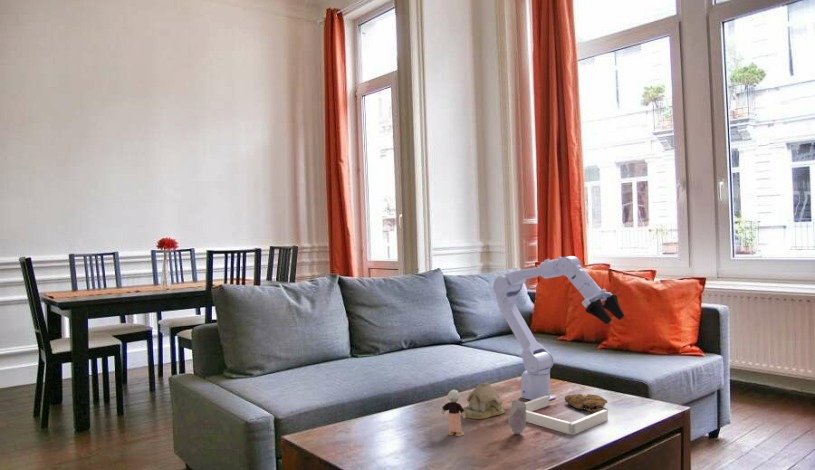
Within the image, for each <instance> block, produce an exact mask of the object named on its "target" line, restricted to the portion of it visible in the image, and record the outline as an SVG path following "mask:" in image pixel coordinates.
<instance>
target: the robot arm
mask: <svg viewBox="0 0 815 470" xmlns="http://www.w3.org/2000/svg"><path fill="white" fill-rule="evenodd" d="M561 276H562V277H563V276H565V277H567V279H568V281H570V283H571V284H572V285H573V286H574V288H575V289H577V291H578V292H579V293H580V295H581V296H582V297H583V298H584V300H583V301H581V304H582V306H584V308H585V313H587V314H589V315H591V316H594V317H596V318H597V319H599V320H600V322H602V323H604V324H605V325H609V324H610V322H612V318H611V316H610V315H609V313H608V312H607V311H609V312H610V313H611V314H612V315H613V316H614V317H615V318H616V319H618V320H619V321H621V320H622V319H623V318H624V317H625V314H624V312H623V310H622V308H621V306H620V302H619V300H618V296H617V294H615V293H611V291H609V292H608V291H607V289H606V288H603V289H602V288H601V287H600V286H599V285H598V284H597V283H596V281H595V280H594V279H593V277H591V276H590V274H589V273H588V272H587V271H586V270H585V268H583V266H582V261H581V260H580V259H579V258H578V257H577V256H574V255H569V256H558V257H557V258H555V259H550V258H547V259H544V261H542V262H541V263H540V264H539V265H538V266H537V267H530V268H526V269H519V270H514V271H511V272H508V273H505V274H503V276H502V275H499V276H497V277H496V278H494V282H493V285H492V290H493V292H494V294H495V296H496V302H497V306H498V308H499V310H500V312H501V314H502V315H503V317H504V319H505V320H506V322H507V324H508V326H509V328H510V330H511V332H512V334H513V335H514V336H515V339H517V342H518V343H519V345H520V347H521V349H522V351H521V355H520V358H521V359H522V362H523V367H524V369H525V370H524V371H523V372H522V374H521V377H520V393H521V394H520V395H519V397H520V398H522V399H526V400H529V401H531V400H534V399H537V398H540V397H543V396H549V401H551V400H553V399H556V398H557V397H556V396H555V395H551V373H550V372H551V368H552V367H553V365H554V361H555V360H554V356H553V355H552V353H551V352H549V351H548V350H547V349H546V347H545V346H544V345H543V344H542V343H539V342H538V341H537V340H536V338H535V336H534V334H533V333H532V330H531V329H530V328H529V326H528V324H527V322H526V320H525V319H524V317H523V316H522V313H521V312H520V310H519V308H518V307H517V305H516V300H517V297H518V295H519V294H520V292H521V290H522V288H523V285H524V284H525V283H526V281H527V280H528V279H532V278H537V277H541V278H543V279H551V278H557V277H561ZM602 302H604V303H602Z"/></svg>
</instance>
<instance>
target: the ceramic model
mask: <svg viewBox="0 0 815 470" xmlns="http://www.w3.org/2000/svg"><path fill="white" fill-rule="evenodd" d="M466 402H468V405H467V406H464V407H462V408H463V409H464V412H465V415H466V418H469V419H473V420H474V419H475V420H478V419H479V420H480V419H488V418H490V417H494V416H499V415H502V414H504V413H506V412H505V409H504V407H502V404H503V401H502V400H501V399H500V395H499V393H498V391H497V390H496V389H495V388H493V386H492V385H491V384H490V383H489V382H486V381H481V382H480V384H479V385H477V386H476V387H475V388H474V389H473V390H472V391H471V392H470V393H469V395H468V396H467V398H466Z"/></svg>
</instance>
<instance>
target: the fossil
mask: <svg viewBox="0 0 815 470" xmlns="http://www.w3.org/2000/svg"><path fill="white" fill-rule="evenodd" d="M510 407H511V409H509V413H508V418H507V420H508V425H509V427H510V430H511V431H512V433H513V434H515V435H521V434H522V433H523V432H524V431H525V429H526V427H527V426H526V425H527V422H526V404H525V401H524V402H523V401H520V400H517V399H513V400H512V402H511V406H510Z"/></svg>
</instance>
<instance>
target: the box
mask: <svg viewBox="0 0 815 470" xmlns="http://www.w3.org/2000/svg"><path fill="white" fill-rule="evenodd" d="M524 403H525V404H526V423H530V424H534V425H536V426H541V427H543V428H546V429H551V430H554V431H557V432H560V433H564V434H567V435H570V436H574V435H576V434H579V433H581V432H584V431H586V430H588V429H590V428H593V427H595V426H598V425H600V424H603V423H605V422H607V421H608V420H609V416H608V415H609V410H608V409H603V410H601V411H599V412H596V413H591V414H589V415H587V416H584V417H582V418H579V419H577V420H574V421H572V422H570V421H567V420H563V419H559V418H555V417H554V416H553V417H552V416H548V415H544V414H541V413H538V412H535V411H537V410H540V409H544V408H546V407H548V406H550V400H549V396H543V397H540V398H537V399H534V400H529V401H526V402H525V401H524ZM510 409H511V406H510ZM510 409H509V410H510Z"/></svg>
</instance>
